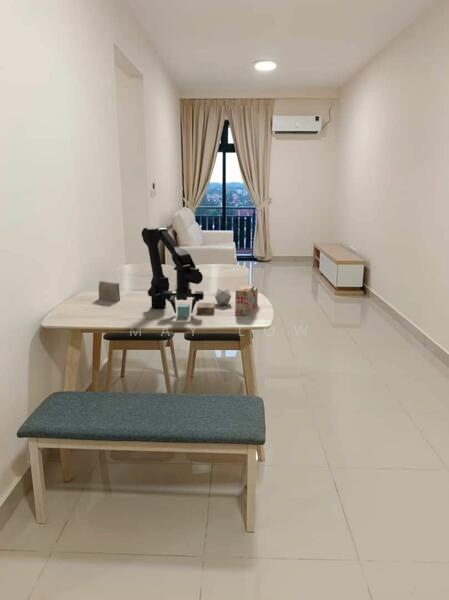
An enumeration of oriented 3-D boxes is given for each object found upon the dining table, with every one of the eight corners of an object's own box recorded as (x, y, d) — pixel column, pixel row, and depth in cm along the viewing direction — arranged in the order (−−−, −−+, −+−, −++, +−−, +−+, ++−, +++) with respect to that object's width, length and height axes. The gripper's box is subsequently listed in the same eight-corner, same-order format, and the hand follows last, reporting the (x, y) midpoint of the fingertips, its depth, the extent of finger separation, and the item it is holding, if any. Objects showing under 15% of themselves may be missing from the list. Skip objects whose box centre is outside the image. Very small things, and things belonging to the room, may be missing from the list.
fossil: (120, 300, 234) (119, 282, 231) (116, 302, 231) (115, 284, 228) (103, 297, 239) (102, 280, 236) (98, 299, 236) (97, 281, 233)
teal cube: (177, 317, 206) (177, 306, 205) (179, 313, 211) (178, 303, 210) (188, 317, 206) (188, 306, 205) (189, 313, 211) (189, 303, 210)
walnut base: (197, 313, 212) (196, 307, 211) (198, 308, 219) (198, 302, 219) (213, 313, 211) (213, 307, 211) (214, 308, 219) (214, 303, 218)
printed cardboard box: (245, 303, 230) (246, 280, 226) (257, 304, 228) (258, 281, 225) (235, 315, 210) (235, 289, 207) (248, 316, 208) (248, 290, 205)
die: (225, 308, 222) (235, 292, 223) (210, 299, 222) (220, 283, 223) (225, 309, 230) (234, 294, 231) (211, 301, 231) (220, 285, 232)
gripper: (160, 284, 197) (161, 318, 201) (202, 284, 197) (202, 318, 201) (163, 278, 208) (164, 310, 212) (203, 279, 207) (203, 311, 211)
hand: (183, 313), depth 209 cm, fingers open, 7 cm apart
